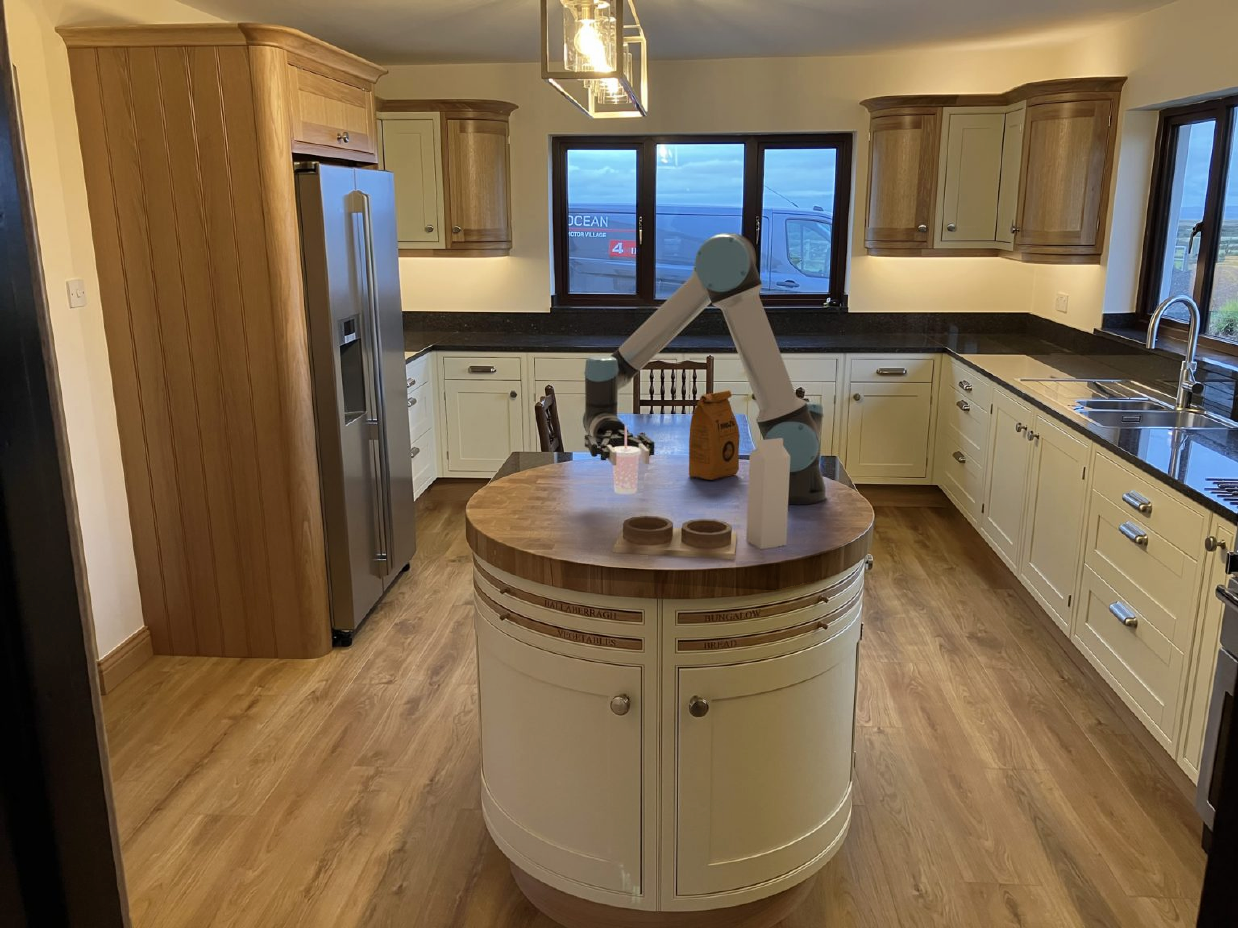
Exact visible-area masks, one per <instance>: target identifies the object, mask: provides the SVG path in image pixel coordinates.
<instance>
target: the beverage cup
mask: <svg viewBox="0 0 1238 928" xmlns="http://www.w3.org/2000/svg"><path fill="white" fill-rule="evenodd" d="M624 425H625V424H624ZM627 429H628V425H625V446H619V447H614V448H613V449H614V450H615V451H616V452H617V457H616V465H612V473H613V475H612V476H613V488H614V492H615V494H617V495H618V494H619V495H632V494H636V493H637V489H638V477H639V476H638V475H639V474H638V472H639V460H640V457H639V455H640V451H641V449H640V448H637V447H632V446H627Z"/></svg>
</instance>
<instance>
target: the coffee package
mask: <svg viewBox="0 0 1238 928" xmlns="http://www.w3.org/2000/svg"><path fill="white" fill-rule="evenodd" d="M731 397H732V392H731V390H729V389H728V390H726V391H725V390H724V391H718V392H715V393H714V392H713V393H707V394H703V395H700V397H699V400H698V402H697V404H696V406H695V408H694V409H693V413H692V415H691V420H690V425H689V438H688V439H689V441H688V476H689V477H691V478H698V479H704V480H710V481H711V480H716V479H720V478H728V477H730V476H734V475H737V474H738V471H739V470H740V468H739V467H740V464H739V463H740V457H739V456H740V455H739V453H740V449H739V448H740V439H741V437H740V436H741V435H740V429H739V428H740V427H739V425H738V424H739V423H738V422H737V419H736V416H735V414H734V412H733V410H732V405H731V403H730V400H729V398H731Z"/></svg>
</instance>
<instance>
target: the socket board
mask: <svg viewBox="0 0 1238 928" xmlns="http://www.w3.org/2000/svg"><path fill="white" fill-rule="evenodd" d="M681 525H682V526H681V528H680V527H679V528H678V527H674V522H673V521H671V520H670V519H669V518H666V517H661V516H653V515H642V516H641V515H640V516H633V517H630V518H627V519H625V520H624V522H623V523H622V529H621V531H620V533H619V535H618V537H617V539H616V541H615V542H614V546H613V553H618V554H633V555H635V554H636V555H650V556H651V555H653V556H654V555H655V556H670V557H687V558H700V559H701V558H702V559H703V558H704V559H718V560H720V559H721V560H735V557H736V549H737V541H738V531H735V530H732V529H733V526H732V525H731V524H729V523H728V522H727V521H723V520H718V519H715V518H714V519H712V518H698V519H690V520H687V521H685V522H682V524H681Z"/></svg>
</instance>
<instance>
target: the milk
mask: <svg viewBox="0 0 1238 928" xmlns="http://www.w3.org/2000/svg"><path fill="white" fill-rule="evenodd" d="M748 464H749V465H748V486H747V511H746V513H747V514H746V537H745V539H746V541H747V542H748V543H749V544H751V545H753V546H755V547H756V548H759V549H760V550H765V549H771V548H773V549H774V548H779V547H778V546H780V547H783V546H782V545H787V533H788V532H787V531H788V529H787V528H788V511H789V509H788V508H789V504H788V494H789V474H790V455H789V454H788V452H787V451H786V449H785V448H784V446H783V438H777V439H767V440H763V439H759V440H758V441H757V447H756V448H755V449H753V450H752V451H750V452H749V462H748Z"/></svg>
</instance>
